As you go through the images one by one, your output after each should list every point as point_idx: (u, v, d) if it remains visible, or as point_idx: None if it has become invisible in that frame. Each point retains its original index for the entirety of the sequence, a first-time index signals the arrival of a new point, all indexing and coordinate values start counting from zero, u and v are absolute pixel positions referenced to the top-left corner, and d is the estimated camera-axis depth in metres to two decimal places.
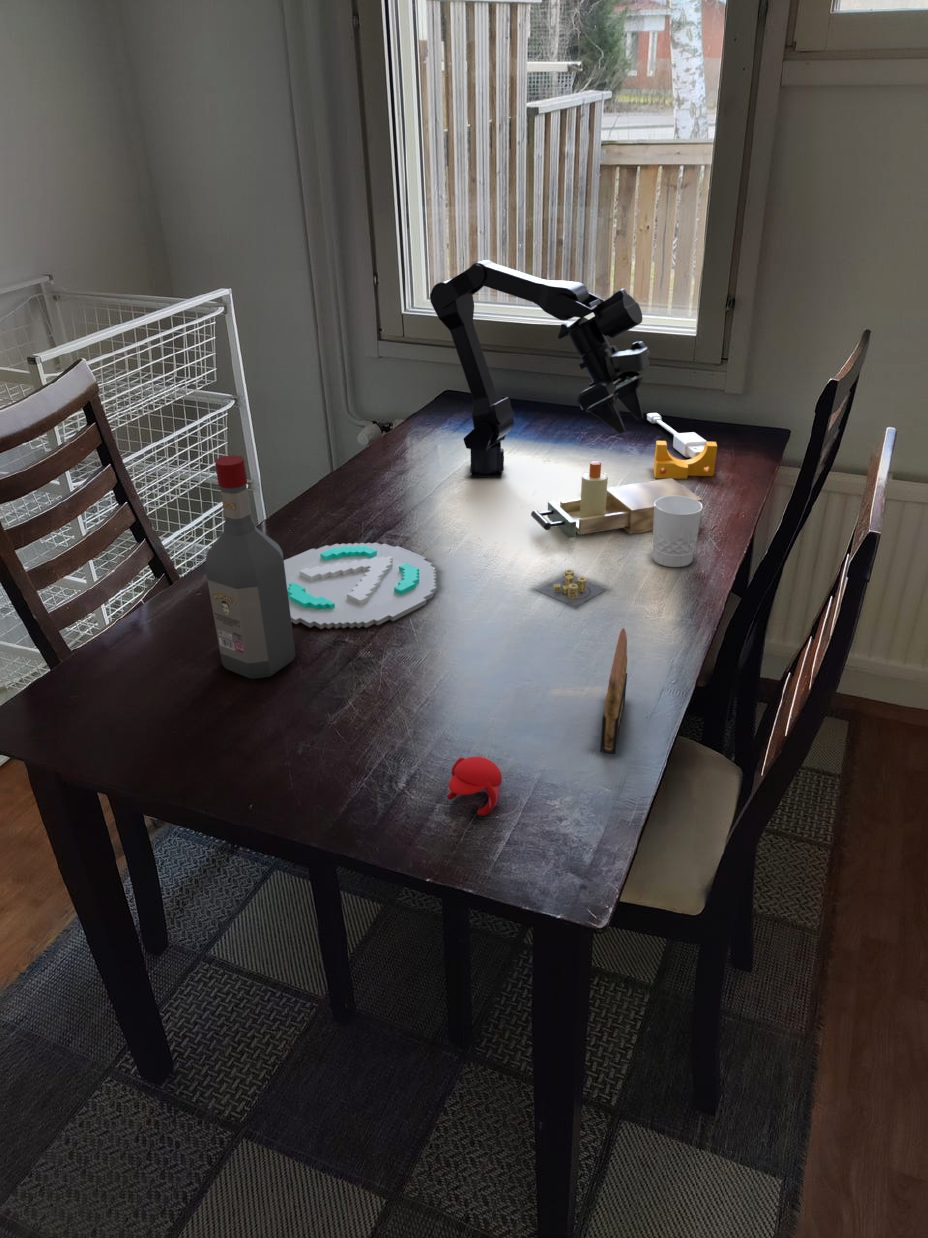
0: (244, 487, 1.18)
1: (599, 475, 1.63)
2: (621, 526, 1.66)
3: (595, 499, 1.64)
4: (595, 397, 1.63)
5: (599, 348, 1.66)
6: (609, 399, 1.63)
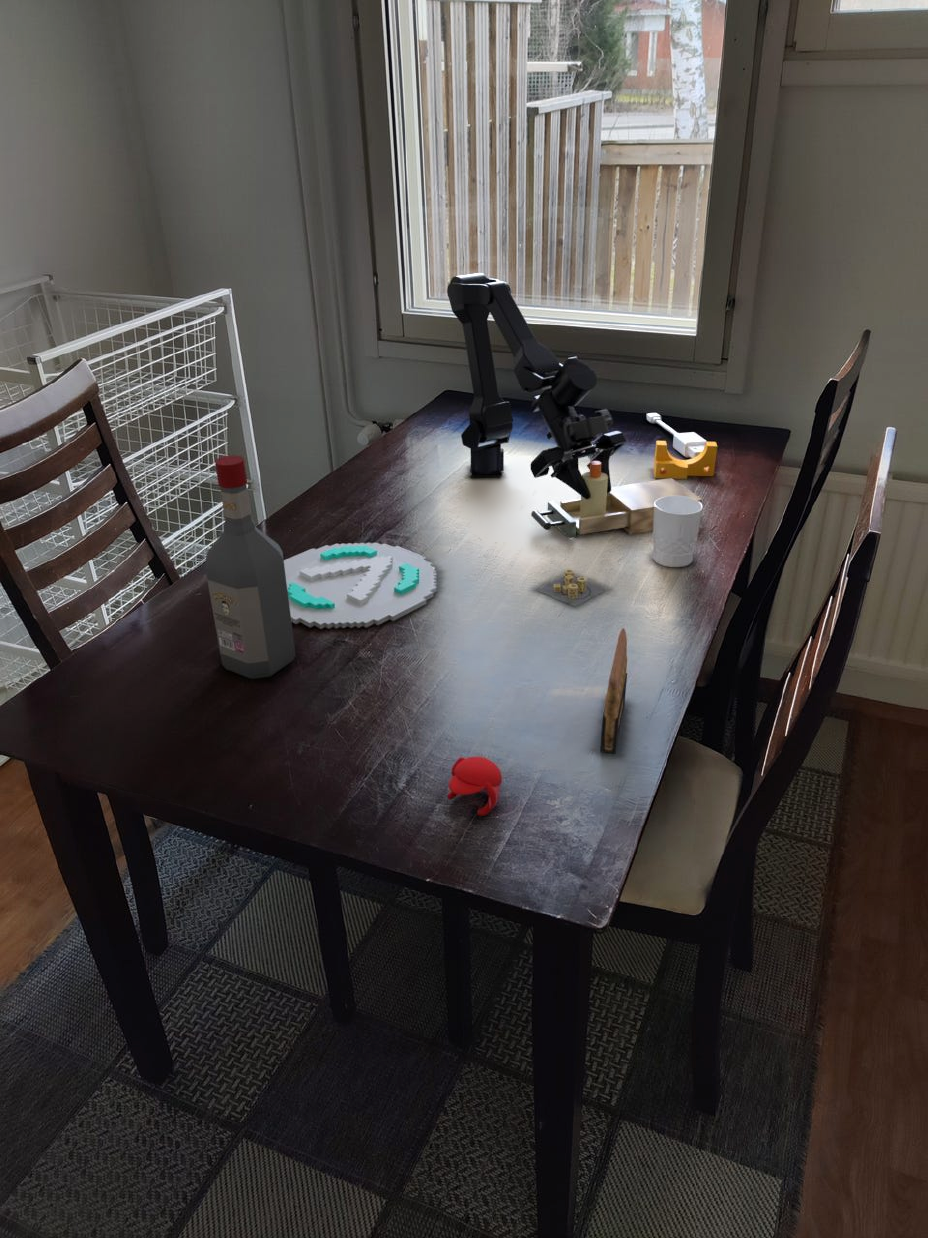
0: (244, 487, 1.18)
1: (599, 475, 1.63)
2: (621, 526, 1.66)
3: (595, 499, 1.64)
4: (540, 464, 1.61)
5: (559, 417, 1.64)
6: (564, 463, 1.61)
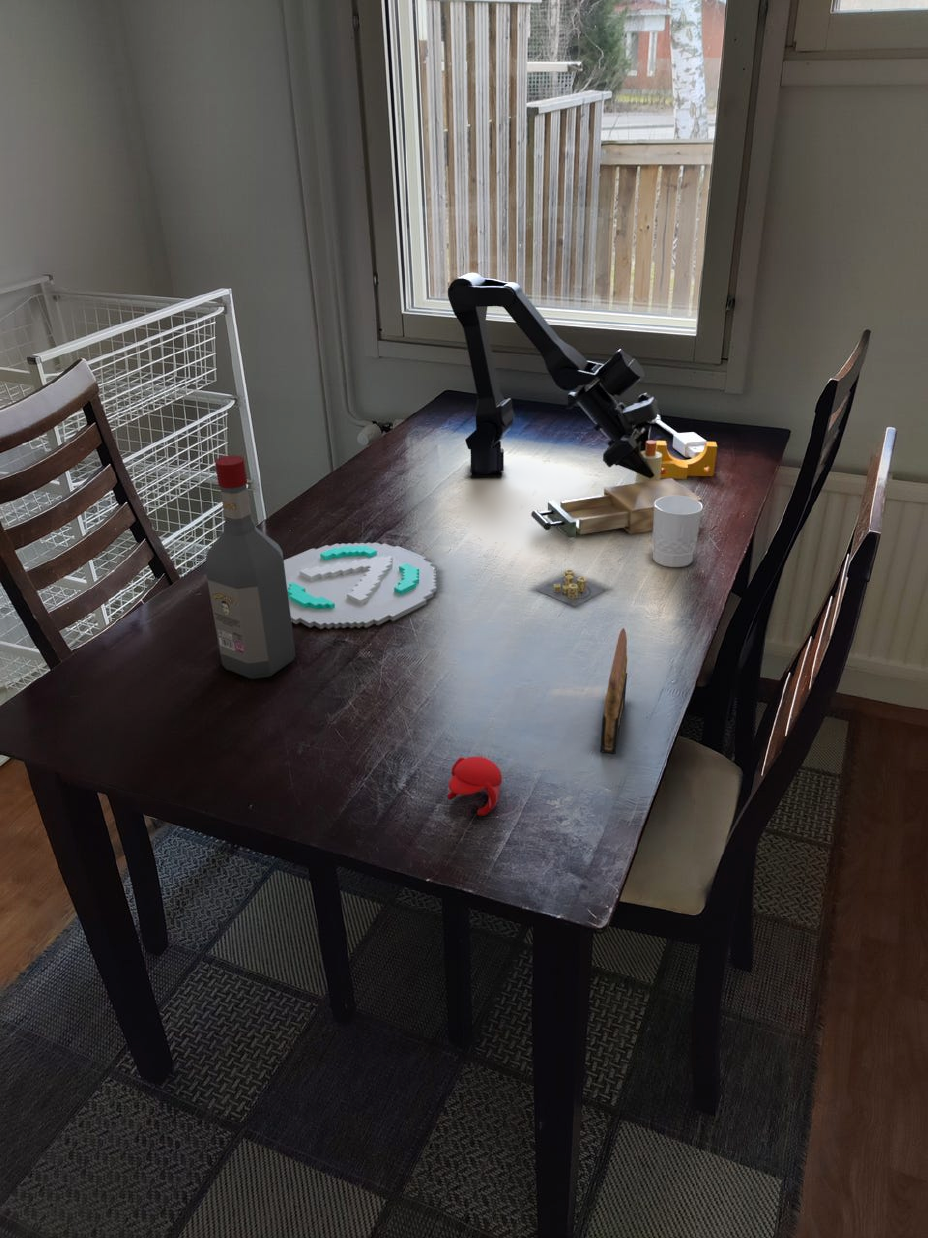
0: (244, 487, 1.18)
1: (655, 452, 1.78)
2: (621, 526, 1.66)
3: (657, 474, 1.78)
4: (620, 453, 1.71)
5: (610, 408, 1.75)
6: (635, 449, 1.72)
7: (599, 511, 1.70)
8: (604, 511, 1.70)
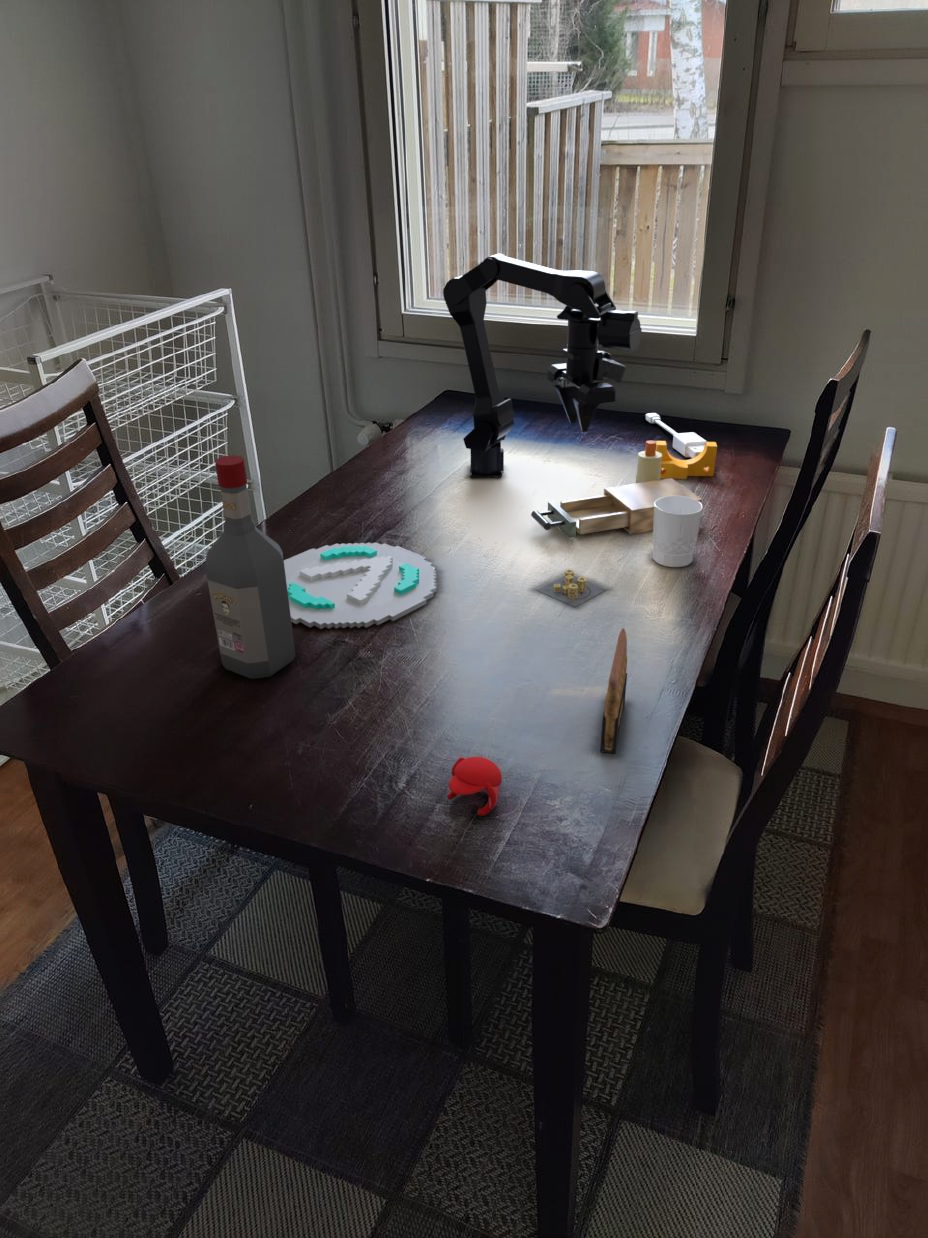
0: (244, 487, 1.18)
1: (655, 452, 1.78)
2: (621, 526, 1.66)
3: (657, 474, 1.78)
4: (605, 397, 1.66)
5: (597, 348, 1.69)
6: None
7: (599, 511, 1.70)
8: (604, 511, 1.70)
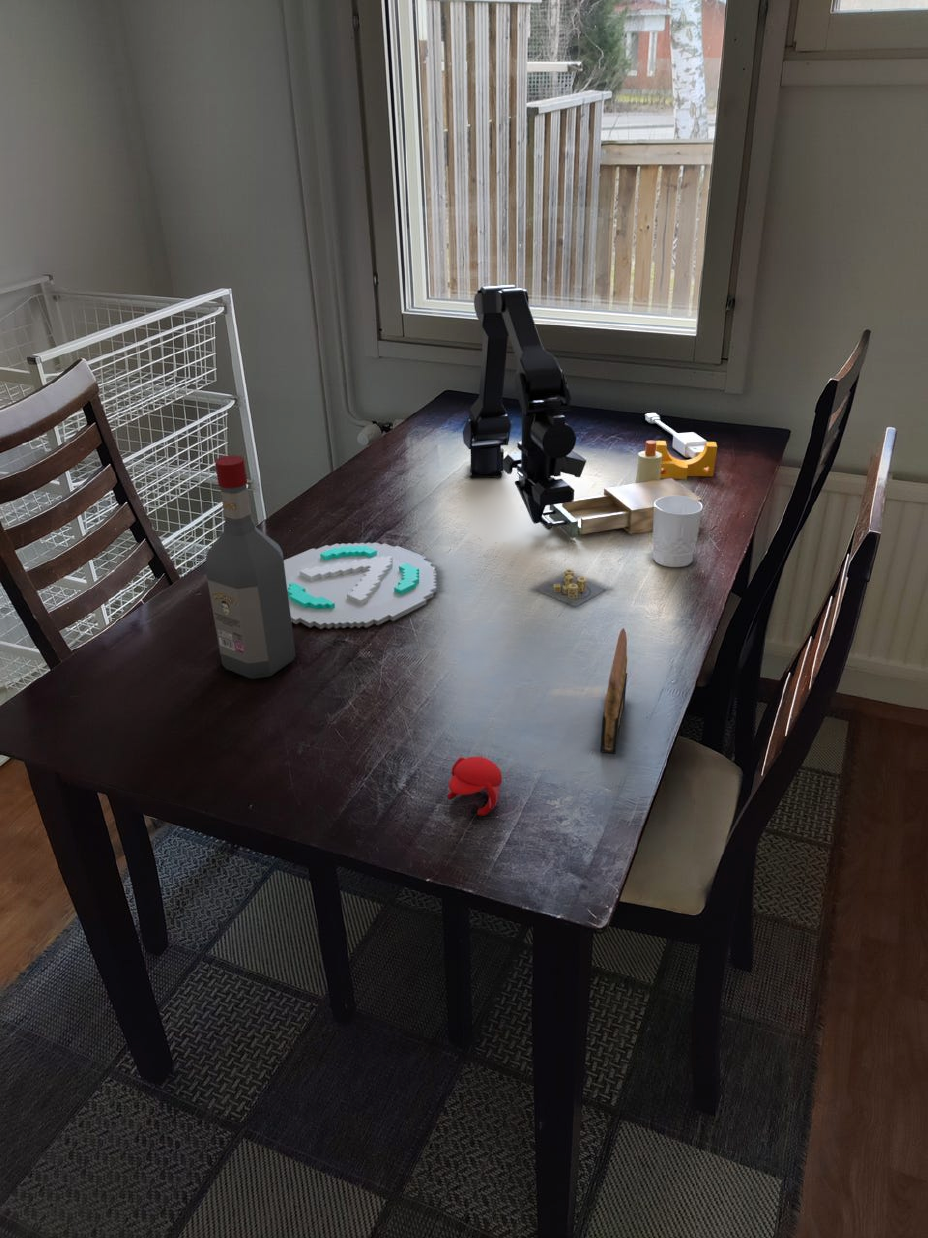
0: (244, 487, 1.18)
1: (655, 452, 1.78)
2: (623, 526, 1.66)
3: (657, 474, 1.78)
4: (562, 498, 1.53)
5: None
6: None
7: (601, 511, 1.70)
8: (606, 511, 1.70)
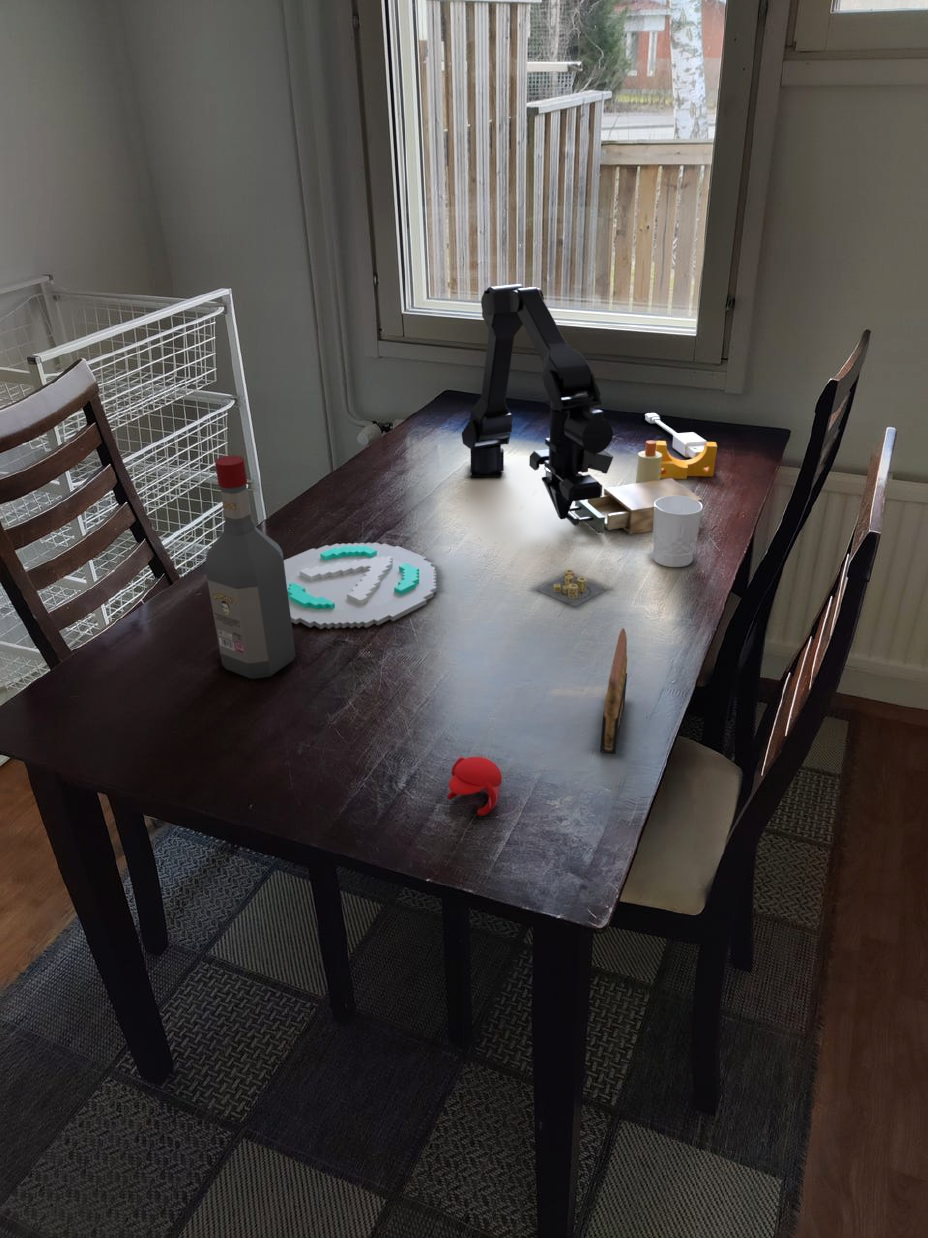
0: (244, 487, 1.18)
1: (655, 452, 1.78)
2: None
3: (657, 474, 1.78)
4: (590, 494, 1.55)
5: None
6: None
7: None
8: None
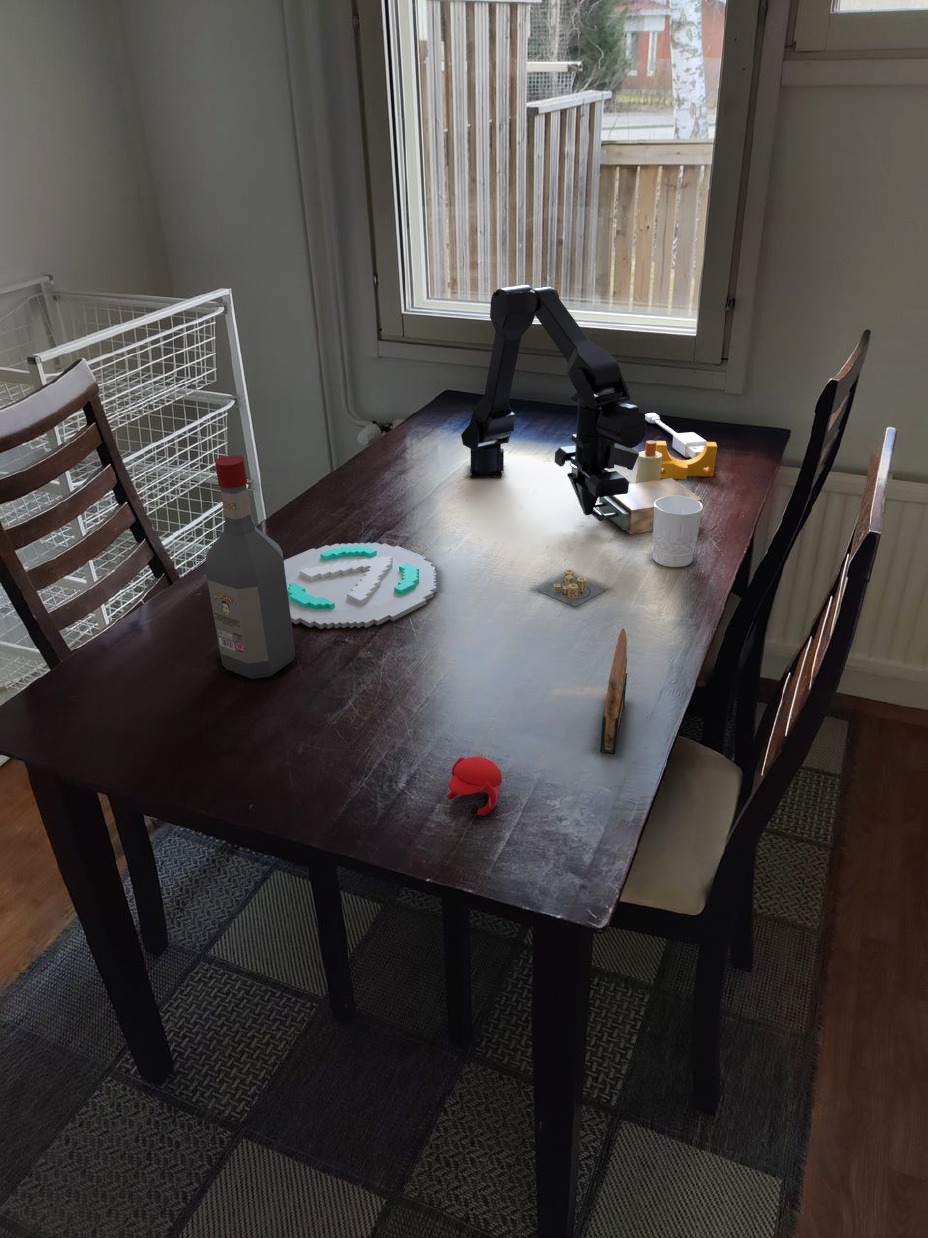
0: (244, 487, 1.18)
1: (655, 452, 1.78)
2: None
3: (657, 474, 1.78)
4: (617, 490, 1.56)
5: None
6: None
7: None
8: None
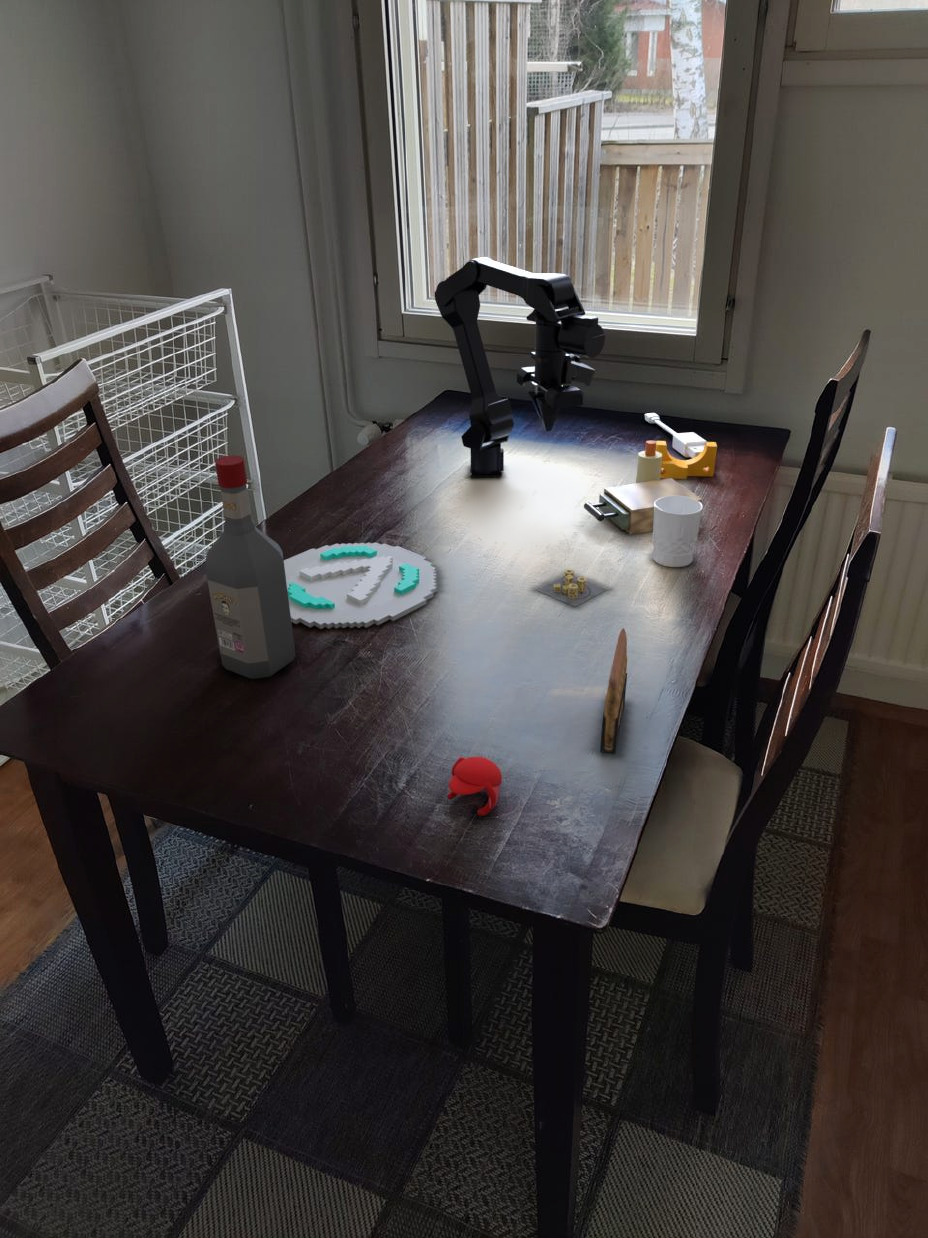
0: (244, 487, 1.18)
1: (655, 452, 1.78)
2: None
3: (657, 474, 1.78)
4: (573, 401, 1.64)
5: (565, 351, 1.67)
6: None
7: None
8: None
